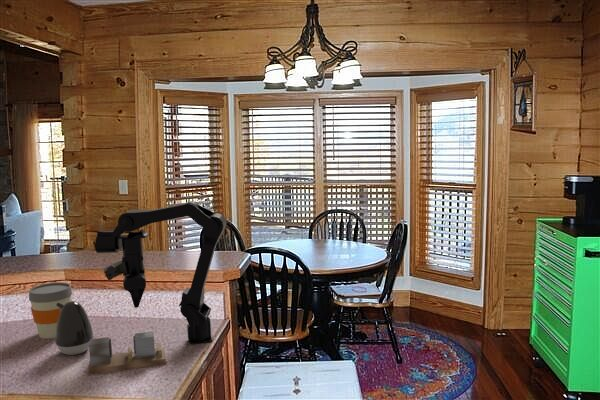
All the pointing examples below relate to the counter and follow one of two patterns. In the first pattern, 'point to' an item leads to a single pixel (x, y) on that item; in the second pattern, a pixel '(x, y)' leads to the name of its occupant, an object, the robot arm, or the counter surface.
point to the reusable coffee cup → (48, 306)
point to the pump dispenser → (73, 329)
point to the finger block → (144, 345)
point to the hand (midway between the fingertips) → (136, 302)
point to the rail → (118, 358)
